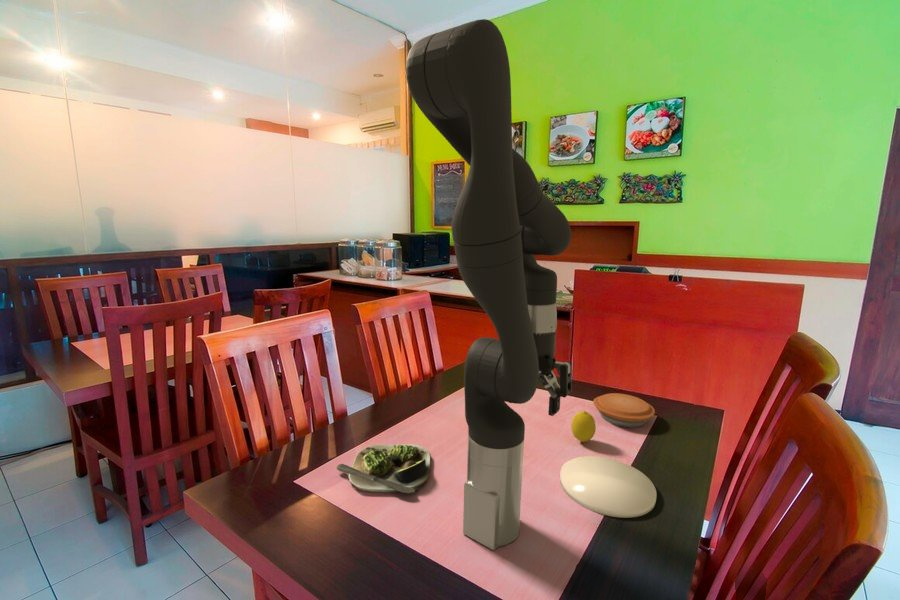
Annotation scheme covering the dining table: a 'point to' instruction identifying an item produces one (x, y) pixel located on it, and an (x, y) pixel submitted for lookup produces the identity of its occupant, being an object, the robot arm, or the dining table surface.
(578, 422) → the lemon
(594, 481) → the saucer
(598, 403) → the pie
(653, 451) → the dining table surface
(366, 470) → the salad plate
